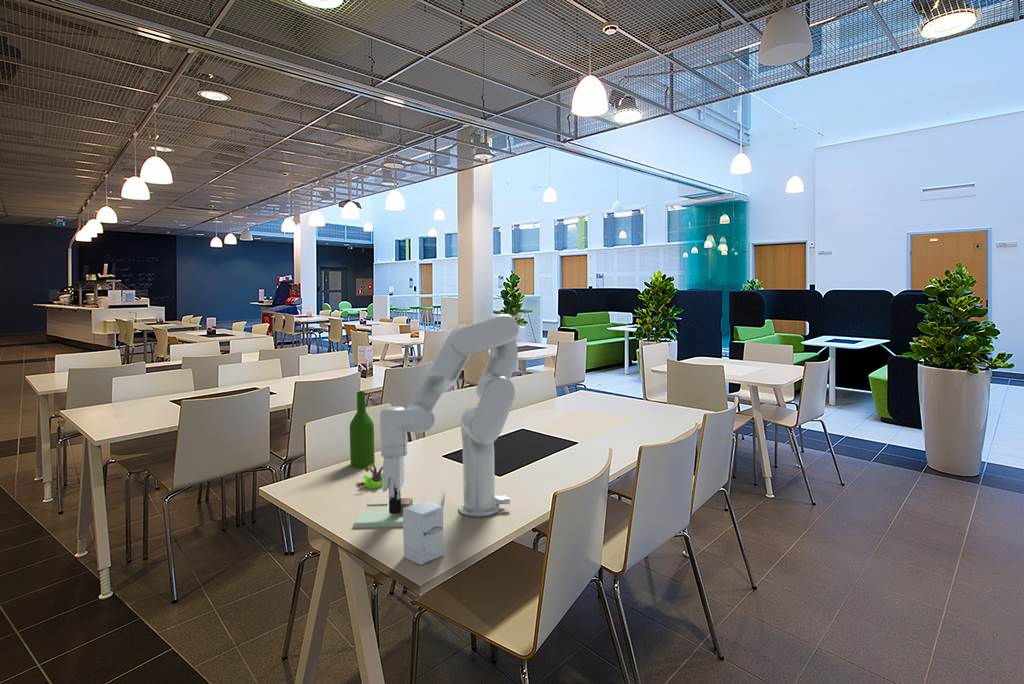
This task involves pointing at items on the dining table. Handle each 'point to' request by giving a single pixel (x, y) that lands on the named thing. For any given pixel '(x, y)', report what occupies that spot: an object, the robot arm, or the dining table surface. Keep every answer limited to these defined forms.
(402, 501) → the walnut block
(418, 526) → the supplement box
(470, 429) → the robot arm
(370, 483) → the plant
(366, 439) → the wine bottle
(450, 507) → the dining table surface
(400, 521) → the board
